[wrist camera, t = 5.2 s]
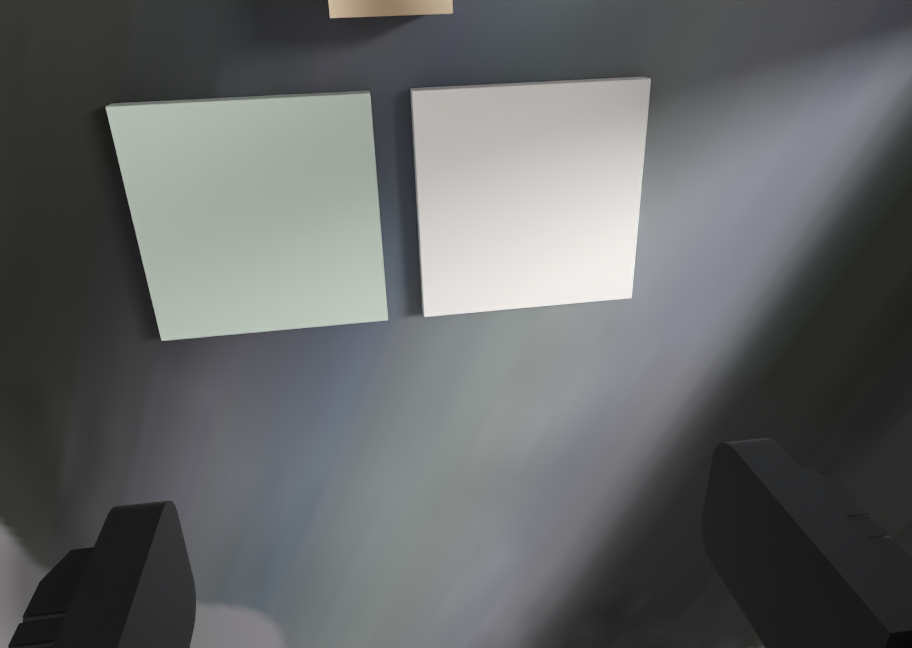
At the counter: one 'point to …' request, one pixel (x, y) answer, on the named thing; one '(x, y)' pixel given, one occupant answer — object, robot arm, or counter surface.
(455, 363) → the counter surface
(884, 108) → the counter surface
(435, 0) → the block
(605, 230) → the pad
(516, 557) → the counter surface
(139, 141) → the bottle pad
